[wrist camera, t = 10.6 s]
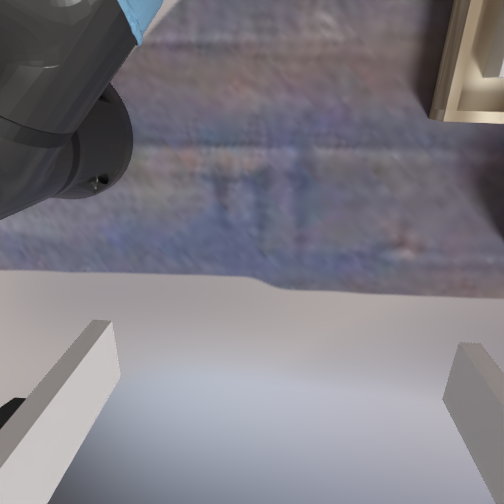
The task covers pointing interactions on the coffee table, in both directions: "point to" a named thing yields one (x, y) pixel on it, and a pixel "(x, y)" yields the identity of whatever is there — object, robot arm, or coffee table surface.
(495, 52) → the socket
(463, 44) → the box
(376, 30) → the coffee table surface
